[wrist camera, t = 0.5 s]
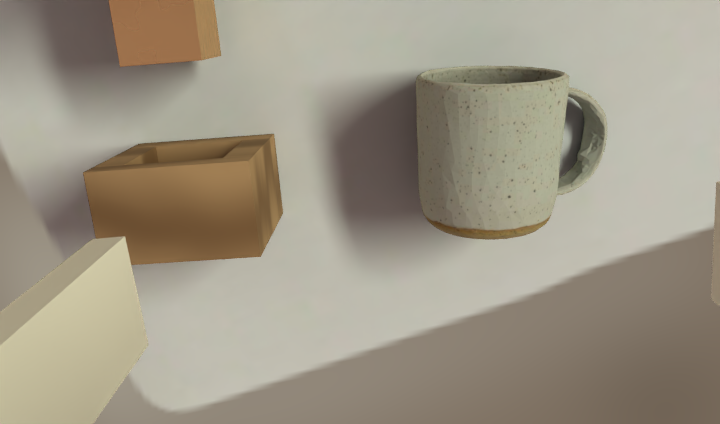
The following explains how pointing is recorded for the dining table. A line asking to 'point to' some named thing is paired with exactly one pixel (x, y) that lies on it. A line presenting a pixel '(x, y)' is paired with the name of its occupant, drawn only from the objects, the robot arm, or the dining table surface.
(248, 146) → the socket
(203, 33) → the tan wooden post
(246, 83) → the dining table surface
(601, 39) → the dining table surface
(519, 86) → the ceramic mug
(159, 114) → the dining table surface
